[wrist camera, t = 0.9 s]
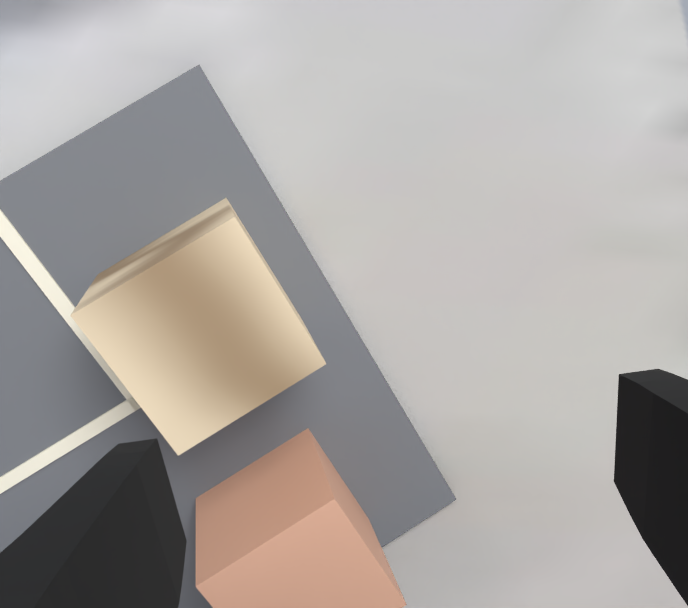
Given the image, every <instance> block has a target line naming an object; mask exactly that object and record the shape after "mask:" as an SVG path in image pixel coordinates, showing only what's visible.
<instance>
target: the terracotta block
mask: <svg viewBox="0 0 688 608" xmlns="http://www.w3.org/2000/svg"><path fill="white" fill-rule="evenodd" d="M196 588H197V589H198V590H199V591H200V593H201V594H202V595H203V596H204V597H205V599H206V600H207V601H208V602H209V603H210V605H211V606H212V607H213V608H402V607H404V606H405V605H407V604H406V602H405V600H404V598H403V595H402V593H401V591H400V589H399V586H398V584H397V582H396V579H395V577H394V575H393V573H392V570H391V568H390V566H389V564H388V561H387V559H386V557H385V555H384V552H383V550H382V548H381V546H380V543H379V541H378V539H377V536H376V534H375V532H374V530H373V527H372V525H371V523H370V521H369V519H368V517H367V516H366V514H365V513H364V511H363V510H362V508H361V507H360V505H359V504H358V502H357V501H356V499H355V498H354V496H353V495H352V493H351V492H350V490H349V489H348V487H347V486H346V484H345V483H344V481H343V480H342V478H341V477H340V475H339V474H338V472H337V471H336V469H335V468H334V466H333V465H332V463H331V462H330V460H329V459H328V457H327V456H326V454H325V453H324V451H323V450H322V448H321V447H320V445H319V444H318V442H317V441H316V439H315V438H314V436H313V435H312V433H311V431H310V430H309V428H307V429H306V430H304V431H302V432H301V433H299V434H298V435H296V436H294V437H293V438H291V439H290V440H288V441H286V442H285V443H283V444H282V445H280V446H278V447H277V448H275V449H274V450H272V451H270V452H269V453H267V454H266V455H264V456H262V457H261V458H259V459H258V460H256V461H254V462H253V463H251V464H250V465H248V466H246V467H245V468H243V469H242V470H240V471H238V472H237V473H235V474H234V475H232V476H230V477H229V478H227V479H226V480H224V481H222V482H221V483H219V484H218V485H216V486H214V487H213V488H211V489H210V490H208V491H206V492H205V493H203V494H202V495H200V496H198V497H197V498H196Z"/></svg>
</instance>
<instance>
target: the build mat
mask: <svg viewBox="0 0 688 608" xmlns="http://www.w3.org/2000/svg"><path fill="white" fill-rule="evenodd" d="M225 198H227V200H228V201H229V203H230V204H231V206H232V208H233V209H234V211H235V212H236V214H237V216H238V217H239V219H240V220H241V222H242V224H243V225H244V227H245V228H246V230H247V232H248V233H249V235H250V236H251V238H252V240H253V241H254V243H255V245H256V246H257V248H258V249H259V251H260V253H261V254H262V256H263V257H264V259H265V261H266V262H267V264H268V265H269V267H270V269H271V270H272V272H273V273H274V275H275V277H276V278H277V280H278V281H279V283H280V285H281V286H282V288H283V289H284V291H285V293H286V294H287V296H288V298H289V299H290V301H291V302H292V304H293V306H294V307H295V309H296V310H297V312H298V314H299V315H300V317H301V319H302V320H303V322H304V324H305V326H306V328H307V329H308V331H309V333H310V335H311V337H312V339H313V340H314V342H315V344H316V346H317V348H318V349H319V351H320V353H321V355H322V357H323V358H324V360H325V362H326V365H324V366H322V367H321V368H319V369H318V370H316V371H314V372H313V373H311V374H309V375H308V376H306V377H305V378H303V379H301V380H300V381H298V382H297V383H295V384H293V385H292V386H290V387H288V388H287V389H285V390H284V391H282V392H280V393H279V394H277V395H276V396H274V397H272V398H271V399H269V400H268V401H266V402H264V403H263V404H261V405H259V406H258V407H256V408H255V409H253V410H251V411H250V412H248V413H247V414H245V415H243V416H242V417H240V418H238V419H237V420H235V421H234V422H232V423H230V424H229V425H227V426H226V427H224V428H222V429H221V430H219V431H217V432H216V433H214V434H213V435H211V436H209V437H208V438H206V439H205V440H203V441H201V442H200V443H198V444H197V445H195V446H193V447H192V448H190V449H188V450H187V451H185V452H184V453H182V454H180V455H179V456H178V455H177V454H176V452H175V451H174V450H173V448H172V447H171V446H170V444H169V443H168V442H167V441H166V439H165V438H164V437H163V435H162V434H161V433H160V431H159V430H158V429H157V428H156V426H155V425H154V424H153V422H152V421H151V420H150V418H149V417H148V416H147V415H146V413H145V412H144V411H143V409H142V408H141V407H140V405H139V404H138V403H137V402H136V400H135V399H134V398H133V396H132V395H131V394H130V392H129V391H128V390H127V389H126V387H125V386H124V385H123V383H122V382H121V381H120V380H119V378H118V377H117V376H116V374H115V373H114V372H113V370H112V369H111V368H110V367H109V365H108V364H107V363H106V361H105V360H104V359H103V357H102V356H101V355H100V354H99V352H98V351H97V350H96V348H95V347H94V346H93V344H92V343H91V342H90V341H89V339H88V338H87V337H86V335H85V334H84V333H83V331H82V330H81V329H80V328H79V326H78V325H77V324H76V322H75V321H74V320H73V318H72V317H71V316H70V315H71V314H72V312H73V311H74V309H75V308H76V306H77V305H78V303H79V302H80V300H81V299H82V297H83V296H84V294H85V293H86V291H87V290H88V288H89V287H90V285H91V284H92V282H93V281H94V279H95V278H96V276H97V275H98V274H99V273H101V272H103V271H104V270H106V269H108V268H109V267H111V266H113V265H114V264H116V263H118V262H119V261H121V260H123V259H124V258H126V257H128V256H129V255H131V254H133V253H134V252H136V251H138V250H139V249H141V248H143V247H144V246H146V245H148V244H149V243H151V242H153V241H154V240H156V239H158V238H160V237H161V236H163V235H165V234H166V233H168V232H170V231H171V230H173V229H175V228H176V227H178V226H180V225H181V224H183V223H185V222H186V221H188V220H190V219H191V218H193V217H195V216H196V215H198V214H200V213H201V212H203V211H205V210H206V209H208V208H210V207H211V206H213V205H215V204H216V203H218V202H220V201H221V200H223V199H225ZM307 428H309V430H310V431H311V433H312V435H313V436H314V438H315V439H316V441H317V442H318V444H319V445H320V447H321V448H322V450H323V451H324V453H325V454H326V456H327V457H328V459H329V460H330V462H331V463H332V465H333V466H334V468H335V469H336V471H337V472H338V474H339V475H340V477H341V478H342V480H343V481H344V483H345V484H346V486H347V487H348V489H349V490H350V492H351V493H352V495H353V496H354V498H355V499H356V501H357V502H358V504H359V505H360V507H361V508H362V510H363V511H364V513H365V514H366V516H367V517H368V519H369V521H370V523H371V525H372V527H373V530H374V532H375V534H376V536H377V539H378V541H379V543H380V546H381V547H383V546H384V545H386V544H388V543H389V542H391V541H392V540H394V539H395V538H397V537H398V536H400V535H402V534H403V533H405V532H406V531H408V530H409V529H411V528H412V527H414V526H416V525H417V524H419V523H420V522H422V521H423V520H425V519H427V518H428V517H430V516H431V515H433V514H434V513H436V512H437V511H439V510H441V509H442V508H444V507H445V506H447V505H448V504H450V503H452V502H453V501H455V500H456V498H455V496H454V495H453V493H452V491H451V489H450V488H449V486H448V484H447V483H446V481H445V479H444V478H443V476H442V474H441V473H440V471H439V469H438V467H437V466H436V464H435V462H434V461H433V459H432V457H431V456H430V454H429V452H428V451H427V449H426V447H425V446H424V444H423V442H422V440H421V439H420V437H419V435H418V434H417V432H416V430H415V429H414V427H413V425H412V424H411V422H410V420H409V419H408V417H407V415H406V413H405V412H404V410H403V408H402V407H401V405H400V403H399V402H398V400H397V398H396V397H395V395H394V393H393V391H392V390H391V388H390V386H389V385H388V383H387V381H386V380H385V378H384V376H383V375H382V373H381V371H380V370H379V368H378V366H377V364H376V363H375V361H374V359H373V358H372V356H371V354H370V353H369V351H368V349H367V348H366V346H365V344H364V343H363V341H362V339H361V337H360V336H359V334H358V332H357V331H356V329H355V327H354V326H353V324H352V322H351V321H350V319H349V317H348V315H347V314H346V312H345V310H344V309H343V307H342V305H341V304H340V302H339V300H338V299H337V297H336V295H335V294H334V292H333V290H332V288H331V287H330V285H329V283H328V282H327V280H326V278H325V277H324V275H323V273H322V272H321V270H320V268H319V267H318V265H317V263H316V261H315V260H314V258H313V256H312V255H311V253H310V251H309V250H308V248H307V246H306V245H305V243H304V241H303V239H302V238H301V236H300V234H299V233H298V231H297V229H296V228H295V226H294V224H293V223H292V221H291V219H290V218H289V216H288V214H287V212H286V211H285V209H284V207H283V206H282V204H281V202H280V201H279V199H278V197H277V196H276V194H275V192H274V190H273V189H272V187H271V185H270V184H269V182H268V180H267V179H266V177H265V175H264V174H263V172H262V170H261V169H260V167H259V165H258V163H257V162H256V160H255V158H254V157H253V155H252V153H251V152H250V150H249V148H248V147H247V145H246V143H245V142H244V140H243V138H242V136H241V135H240V133H239V131H238V130H237V128H236V126H235V125H234V123H233V121H232V120H231V118H230V116H229V114H228V113H227V111H226V109H225V108H224V106H223V104H222V103H221V101H220V99H219V98H218V96H217V94H216V93H215V91H214V89H213V87H212V86H211V84H210V82H209V81H208V79H207V77H206V76H205V74H204V72H203V71H202V69H201V67H200V66H199V65H198V66H196V67H194V68H193V69H191V70H189V71H187V72H186V73H184V74H182V75H181V76H179V77H177V78H175V79H174V80H172V81H170V82H169V83H167V84H165V85H163V86H162V87H160V88H158V89H157V90H155V91H153V92H151V93H150V94H148V95H146V96H145V97H143V98H141V99H139V100H138V101H136V102H134V103H133V104H131V105H129V106H127V107H126V108H124V109H122V110H121V111H119V112H117V113H115V114H114V115H112V116H110V117H109V118H107V119H105V120H103V121H102V122H100V123H98V124H97V125H95V126H93V127H92V128H90V129H88V130H86V131H85V132H83V133H81V134H80V135H78V136H76V137H74V138H73V139H71V140H69V141H68V142H66V143H64V144H62V145H61V146H59V147H57V148H56V149H54V150H52V151H50V152H49V153H47V154H45V155H44V156H42V157H40V158H38V159H37V160H35V161H33V162H32V163H30V164H28V165H26V166H25V167H23V168H21V169H20V170H18V171H16V172H14V173H13V174H11V175H9V176H8V177H6V178H4V179H2V180H1V181H0V553H1V552H2V551H3V550H4V549H5V548H6V547H7V546H9V545H10V544H11V543H12V542H13V541H14V540H15V539H17V538H18V537H19V536H20V535H21V534H22V533H23V532H24V531H25V530H27V529H28V528H29V527H30V526H31V525H32V524H33V523H34V522H35V521H36V520H37V519H38V518H39V517H40V516H41V515H42V514H43V513H44V512H46V511H47V510H48V509H49V508H50V507H51V506H52V505H53V504H54V503H55V502H56V501H57V500H58V499H59V498H60V497H61V496H62V495H64V494H65V493H66V492H67V491H68V490H69V489H70V488H71V487H72V486H73V485H74V484H75V483H76V482H77V481H78V480H79V479H80V478H81V477H82V476H83V475H84V474H85V473H86V472H87V471H88V470H90V469H91V468H92V467H93V466H94V465H95V464H96V463H97V462H98V461H99V460H100V459H101V458H102V457H103V456H105V455H106V454H107V453H108V452H109V451H110V450H111V449H113V448H114V447H115V446H116V445H117V444H120V443H127V442H134V441H142V440H149V439H156V438H157V439H158V443H159V446H160V450H161V453H162V457H163V460H164V464H165V467H166V470H167V474H168V477H169V481H170V484H171V488H172V491H173V495H174V498H175V502H176V505H177V509H178V512H179V516H180V519H181V523H182V526H183V530H184V533H185V537H186V540H187V543H186V552H185V561H184V571H183V579H182V587H181V594H180V602H179V607H178V608H213V607H212V606H211V605H210V603H209V602H208V601H207V600H206V599H205V597H204V596H203V595H202V594H201V593H200V591H199V590H198V589H197V588H196V498H197V497H198V496H200V495H202V494H203V493H205V492H206V491H208V490H210V489H211V488H213V487H214V486H216V485H218V484H219V483H221V482H222V481H224V480H226V479H227V478H229V477H230V476H232V475H234V474H235V473H237V472H238V471H240V470H242V469H243V468H245V467H246V466H248V465H250V464H251V463H253V462H254V461H256V460H258V459H259V458H261V457H262V456H264V455H266V454H267V453H269V452H270V451H272V450H274V449H275V448H277V447H278V446H280V445H282V444H283V443H285V442H286V441H288V440H290V439H291V438H293V437H294V436H296V435H298V434H299V433H301V432H302V431H304V430H306V429H307Z"/></svg>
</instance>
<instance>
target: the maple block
mask: <svg viewBox="0 0 688 608" xmlns="http://www.w3.org/2000/svg"><path fill="white" fill-rule="evenodd" d="M70 316H71V317H72V318H73V320H74V321H75V322H76V324H77V325H78V326H79V328H80V329H81V330H82V331H83V333H84V334H85V335H86V337H87V338H88V339H89V341H90V342H91V343H92V344H93V346H94V347H95V348H96V350H97V351H98V352H99V354H100V355H101V356H102V357H103V359H104V360H105V361H106V363H107V364H108V365H109V367H110V368H111V369H112V370H113V372H114V373H115V374H116V376H117V377H118V378H119V380H120V381H121V382H122V383H123V385H124V386H125V387H126V389H127V390H128V391H129V392H130V394H131V395H132V396H133V398H134V399H135V400H136V402H137V403H138V404H139V405H140V407H141V408H142V409H143V411H144V412H145V413H146V415H147V416H148V417H149V418H150V420H151V421H152V422H153V424H154V425H155V426H156V428H157V429H158V430H159V431H160V433H161V434H162V435H163V437H164V438H165V439H166V441H167V442H168V443H169V444H170V446H171V447H172V448H173V450H174V451H175V452H176V454H177V455H178V456H179V455H180V454H182V453H184V452H185V451H187V450H188V449H190V448H192V447H193V446H195V445H197V444H198V443H200V442H201V441H203V440H205V439H206V438H208V437H209V436H211V435H213V434H214V433H216V432H217V431H219V430H221V429H222V428H224V427H226V426H227V425H229V424H230V423H232V422H234V421H235V420H237V419H238V418H240V417H242V416H243V415H245V414H247V413H248V412H250V411H251V410H253V409H255V408H256V407H258V406H259V405H261V404H263V403H264V402H266V401H268V400H269V399H271V398H272V397H274V396H276V395H277V394H279V393H280V392H282V391H284V390H285V389H287V388H288V387H290V386H292V385H293V384H295V383H297V382H298V381H300V380H301V379H303V378H305V377H306V376H308V375H309V374H311V373H313V372H314V371H316V370H318V369H319V368H321V367H322V366H324V365H326V362H325V360H324V358H323V357H322V355H321V353H320V351H319V349H318V348H317V346H316V344H315V342H314V340H313V339H312V337H311V335H310V333H309V331H308V329H307V328H306V326H305V324H304V322H303V320H302V319H301V317H300V315H299V314H298V312H297V310H296V309H295V307H294V306H293V304H292V302H291V301H290V299H289V298H288V296H287V294H286V293H285V291H284V289H283V288H282V286H281V285H280V283H279V281H278V280H277V278H276V277H275V275H274V273H273V272H272V270H271V269H270V267H269V265H268V264H267V262H266V261H265V259H264V257H263V256H262V254H261V253H260V251H259V249H258V248H257V246H256V245H255V243H254V241H253V240H252V238H251V236H250V235H249V233H248V232H247V230H246V228H245V227H244V225H243V224H242V222H241V220H240V219H239V217H238V216H237V214H236V212H235V211H234V209H233V208H232V206H231V204H230V203H229V201H228V200H227V198H225V199H223V200H221V201H220V202H218V203H216V204H215V205H213V206H211V207H210V208H208V209H206V210H205V211H203V212H201V213H200V214H198V215H196V216H195V217H193V218H191V219H190V220H188V221H186V222H185V223H183V224H181V225H180V226H178V227H176V228H175V229H173V230H171V231H170V232H168V233H166V234H165V235H163V236H161V237H160V238H158V239H156V240H154V241H153V242H151V243H149V244H148V245H146V246H144V247H143V248H141V249H139V250H138V251H136V252H134V253H133V254H131V255H129V256H128V257H126V258H124V259H123V260H121V261H119V262H118V263H116V264H114V265H113V266H111V267H109V268H108V269H106V270H104V271H103V272H101V273H99V274H98V275H97V276H96V278H95V279H94V281H93V282H92V284H91V285H90V287H89V288H88V290H87V291H86V293H85V294H84V296H83V297H82V299H81V300H80V302H79V303H78V305H77V306H76V308H75V309H74V311H73V312H72V314H71V315H70Z"/></svg>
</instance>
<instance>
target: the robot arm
mask: <svg viewBox="0 0 688 608" xmlns="http://www.w3.org/2000/svg"><path fill="white" fill-rule="evenodd" d="M614 482H615V485H616V487H617V489H618V491H619V493H620V495H621V497H622V499H623V501H624V503H625V505H626V507H627V509H628V511H629V513H630V515H631V517H632V519H633V521H634V523H635V525H636V527H637V529H638V531H639V532H640V534H641V536H642V538H643V540H644V541H645V543H646V544H647V546H648V548H649V549H650V551H651V552H652V554H653V555H654V557H655V558H656V560H657V561H658V563H659V564H660V566H661V567H662V569H663V570H664V571H665V573H666V574H667V576H668V577H669V579H670V580H671V582H672V583H673V585H674V586H675V588H676V589H677V591H678V592H679V594H680V595H681V597H682V598H683V599H684V601H685V602H686V604H687V605H688V380H687V379H684V378H682V377H680V376H677V375H674V374H672V373H669V372H666V371H663V370H660V369H654V370H647V371H639V372H632V373H625V374H619V385H618V407H617V428H616V450H615V471H614ZM186 543H187V540H186V537H185V533H184V530H183V526H182V523H181V519H180V516H179V512H178V509H177V505H176V502H175V498H174V495H173V491H172V488H171V484H170V481H169V477H168V474H167V470H166V467H165V464H164V460H163V457H162V453H161V450H160V446H159V443H158V439H157V438H156V439H149V440H142V441H134V442H127V443H120V444H117V445H116V446H115V447H114V448H113V449H111V450H110V451H109V452H108V453H107V454H106V455H105V456H103V457H102V458H101V459H100V460H99V461H98V462H97V463H96V464H95V465H94V466H93V467H92V468H91V469H90V470H88V471H87V472H86V473H85V474H84V475H83V476H82V477H81V478H80V479H79V480H78V481H77V482H76V483H75V484H74V485H73V486H72V487H71V488H70V489H69V490H68V491H67V492H66V493H65V494H64V495H62V496H61V497H60V498H59V499H58V500H57V501H56V502H55V503H54V504H53V505H52V506H51V507H50V508H49V509H48V510H47V511H46V512H44V513H43V514H42V515H41V516H40V517H39V518H38V519H37V520H36V521H35V522H34V523H33V524H32V525H31V526H30V527H29V528H28V529H27V530H25V531H24V532H23V533H22V534H21V535H20V536H19V537H18V538H17V539H15V540H14V541H13V542H12V543H11V544H10V545H9V546H7V547H6V548H5V549H4V550H3V551H2V552H1V553H0V608H178V607H179V602H180V594H181V587H182V579H183V571H184V561H185V552H186Z"/></svg>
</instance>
